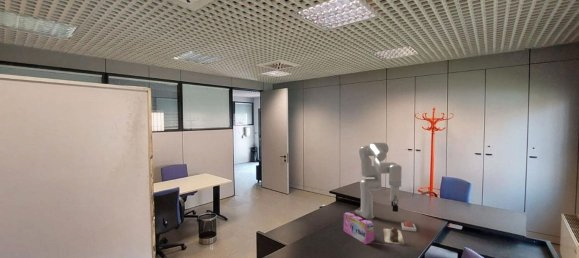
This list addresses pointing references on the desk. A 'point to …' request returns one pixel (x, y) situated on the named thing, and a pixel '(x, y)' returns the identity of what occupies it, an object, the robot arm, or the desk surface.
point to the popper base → (408, 227)
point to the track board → (387, 236)
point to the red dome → (408, 224)
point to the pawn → (394, 234)
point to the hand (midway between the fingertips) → (394, 208)
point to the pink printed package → (359, 227)
